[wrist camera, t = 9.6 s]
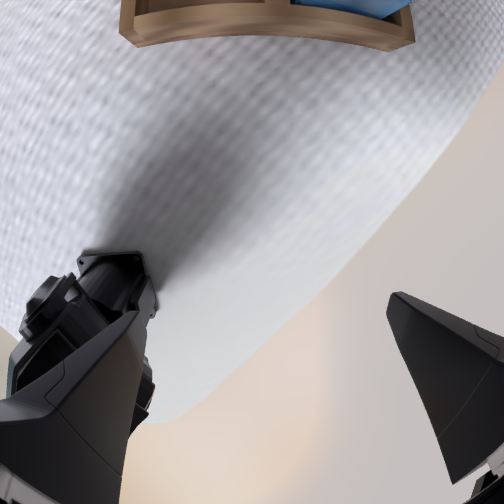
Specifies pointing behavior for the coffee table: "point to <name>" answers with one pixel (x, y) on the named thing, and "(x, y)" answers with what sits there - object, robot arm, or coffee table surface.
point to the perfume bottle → (358, 6)
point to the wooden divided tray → (258, 22)
